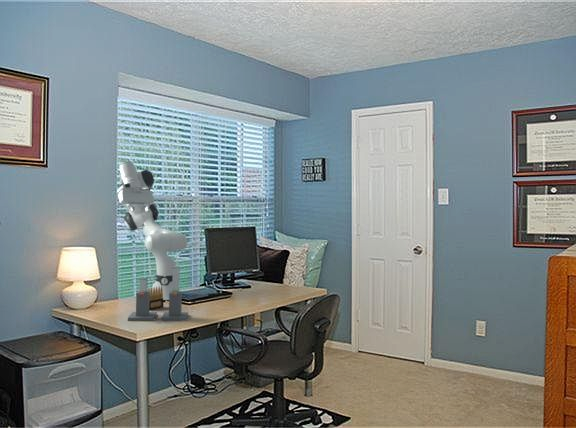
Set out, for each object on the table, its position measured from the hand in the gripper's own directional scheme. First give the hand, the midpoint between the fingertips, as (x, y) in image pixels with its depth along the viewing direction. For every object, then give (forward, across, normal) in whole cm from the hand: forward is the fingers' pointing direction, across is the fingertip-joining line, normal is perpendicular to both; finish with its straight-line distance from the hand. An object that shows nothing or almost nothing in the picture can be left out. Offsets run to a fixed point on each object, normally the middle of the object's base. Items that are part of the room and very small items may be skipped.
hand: (140, 210), depth 271 cm
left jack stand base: (+56, +11, -10) cm, 57 cm away
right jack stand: (+61, -1, -1) cm, 61 cm away
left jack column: (+53, +11, -9) cm, 55 cm away
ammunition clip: (+50, -6, -21) cm, 54 cm away
